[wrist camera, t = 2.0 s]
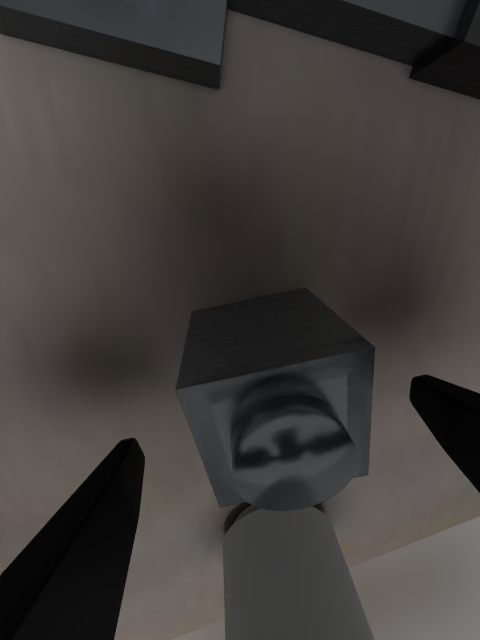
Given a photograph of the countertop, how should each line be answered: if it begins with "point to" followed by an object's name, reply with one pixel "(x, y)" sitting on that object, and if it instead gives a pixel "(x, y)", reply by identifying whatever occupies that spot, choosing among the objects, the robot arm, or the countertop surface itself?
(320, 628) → the can
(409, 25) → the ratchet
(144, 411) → the countertop surface
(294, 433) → the dark grey block
